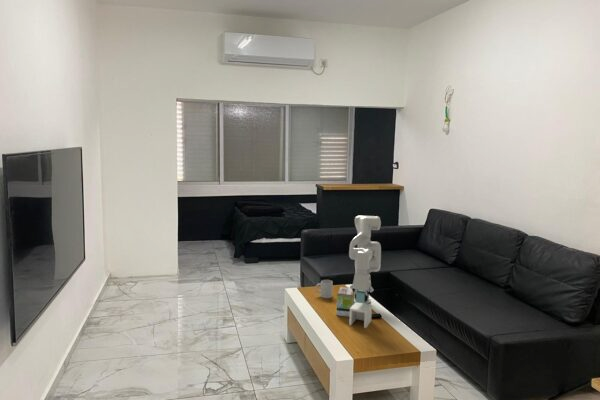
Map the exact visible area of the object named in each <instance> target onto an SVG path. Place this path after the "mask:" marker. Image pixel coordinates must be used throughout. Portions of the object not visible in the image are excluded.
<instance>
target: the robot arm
mask: <svg viewBox="0 0 600 400" xmlns="http://www.w3.org/2000/svg"><path fill="white" fill-rule="evenodd" d="M381 225H382V221H381V217H380V216H378V215H376V216H375V215H357V216H355V217H354V226H355V228H356V233H357V235H356V236H354V237H353V238H352V240H351V241H350V243H349V249H348V250H349V251H348V256H349V258H350V260H353V261H354V267H355V268H354V269H355V272H354V276H353V281H352V284H351V285H350V286H349V287H350V288H351V289H352V290H353V292H354V303H355V302H356V292H357V291H358V290H364V291H365V303H363V304H370V303H371V302H372V301H371V299H370V297H369V298H368V294H369V295H370V294H371V293H373V292H374V291H375V290H374V288H373V287H372V282H371V280H372V279H371V274H370V273H371V272H379V271H380V270H381V266H382V265H381V260H382V245H381V243H380V242H379V241H372V240H371V237H372V231H380V229H381ZM368 290H369V292H368ZM357 303H358V302H357Z"/></svg>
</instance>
